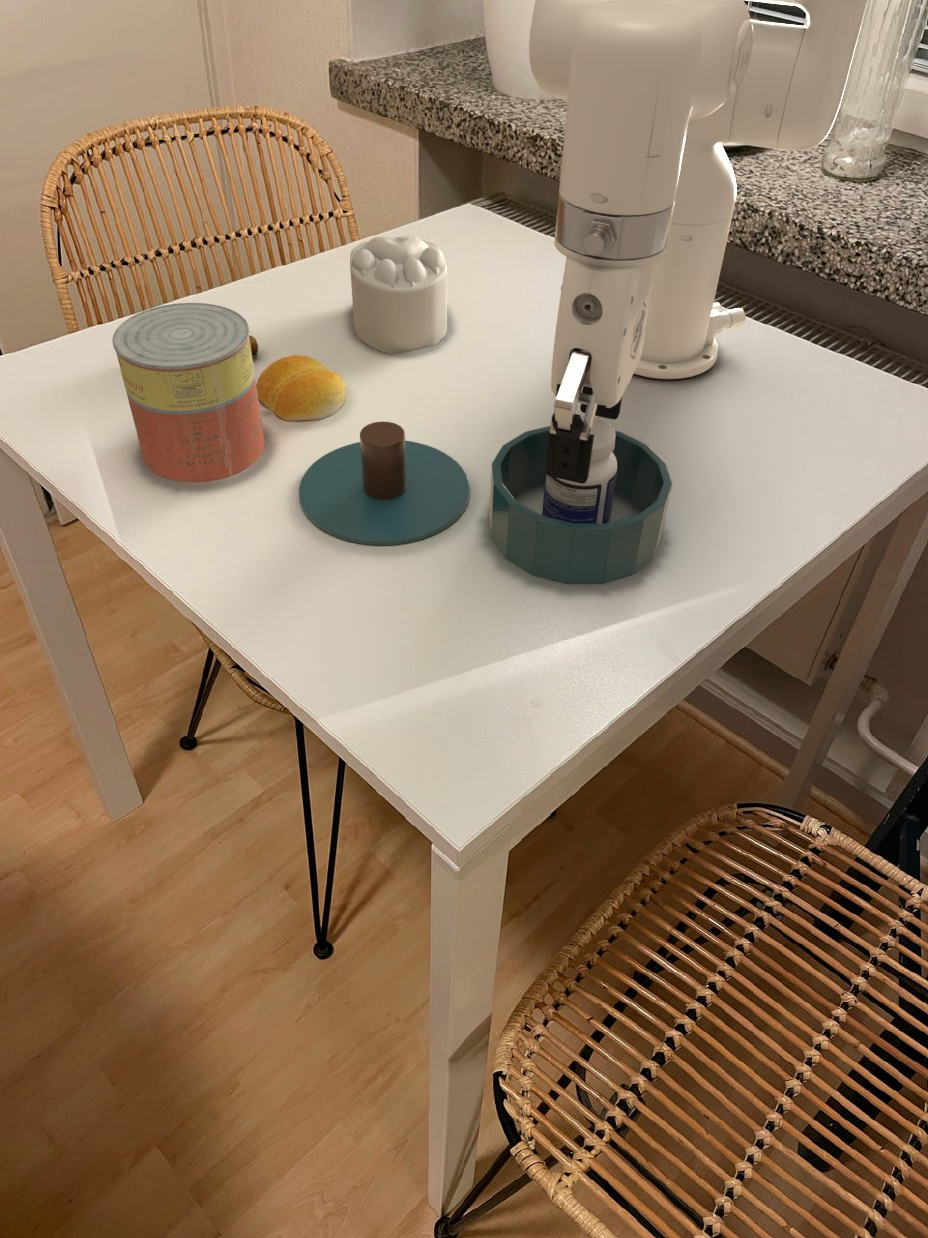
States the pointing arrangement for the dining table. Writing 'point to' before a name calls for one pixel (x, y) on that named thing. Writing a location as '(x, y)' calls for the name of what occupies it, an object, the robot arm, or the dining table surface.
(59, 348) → the dining table surface
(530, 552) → the pot
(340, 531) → the lid
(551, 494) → the pill bottle
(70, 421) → the dining table surface
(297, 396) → the bread roll
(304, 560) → the dining table surface
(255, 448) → the canned food
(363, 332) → the lumpy-topped squat cylinder
